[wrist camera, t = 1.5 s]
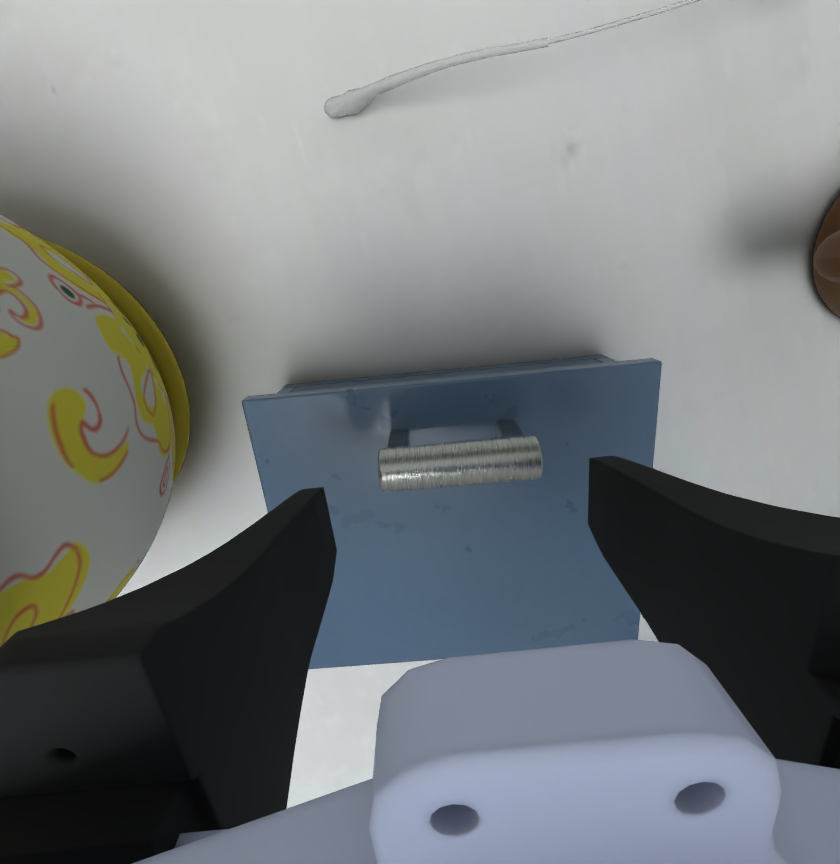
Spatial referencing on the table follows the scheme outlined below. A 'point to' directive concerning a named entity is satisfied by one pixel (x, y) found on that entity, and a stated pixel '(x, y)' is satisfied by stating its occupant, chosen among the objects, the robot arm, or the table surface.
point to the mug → (829, 259)
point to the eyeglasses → (361, 97)
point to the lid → (461, 506)
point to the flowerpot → (78, 432)
